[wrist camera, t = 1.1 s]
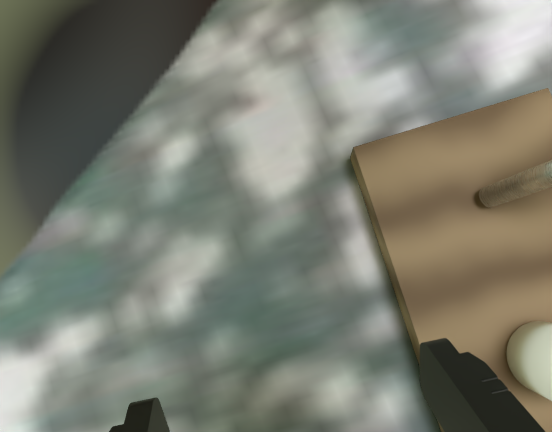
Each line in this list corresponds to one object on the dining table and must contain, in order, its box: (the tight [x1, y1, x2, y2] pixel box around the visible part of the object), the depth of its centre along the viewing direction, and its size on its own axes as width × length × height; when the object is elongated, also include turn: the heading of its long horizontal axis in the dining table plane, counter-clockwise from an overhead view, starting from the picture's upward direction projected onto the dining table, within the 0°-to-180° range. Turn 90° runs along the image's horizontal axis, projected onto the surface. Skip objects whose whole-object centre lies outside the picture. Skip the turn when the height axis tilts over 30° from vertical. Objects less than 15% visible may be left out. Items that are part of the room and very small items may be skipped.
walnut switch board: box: [350, 88, 552, 432], centre depth 30 cm, size 38×16×3 cm, turn 16°
